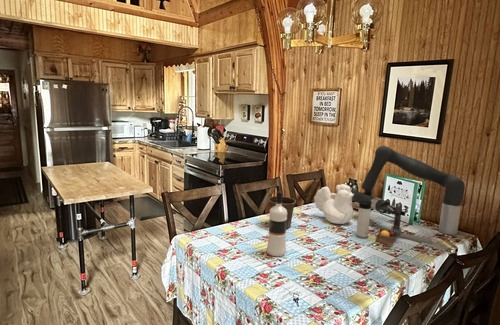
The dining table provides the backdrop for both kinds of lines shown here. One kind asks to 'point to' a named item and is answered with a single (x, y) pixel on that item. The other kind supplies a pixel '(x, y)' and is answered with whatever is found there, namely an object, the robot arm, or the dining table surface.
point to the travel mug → (363, 219)
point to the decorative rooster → (335, 204)
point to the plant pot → (287, 204)
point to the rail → (414, 238)
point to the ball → (385, 233)
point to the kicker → (396, 221)
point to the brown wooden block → (384, 237)
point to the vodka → (277, 228)
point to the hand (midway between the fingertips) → (402, 214)
